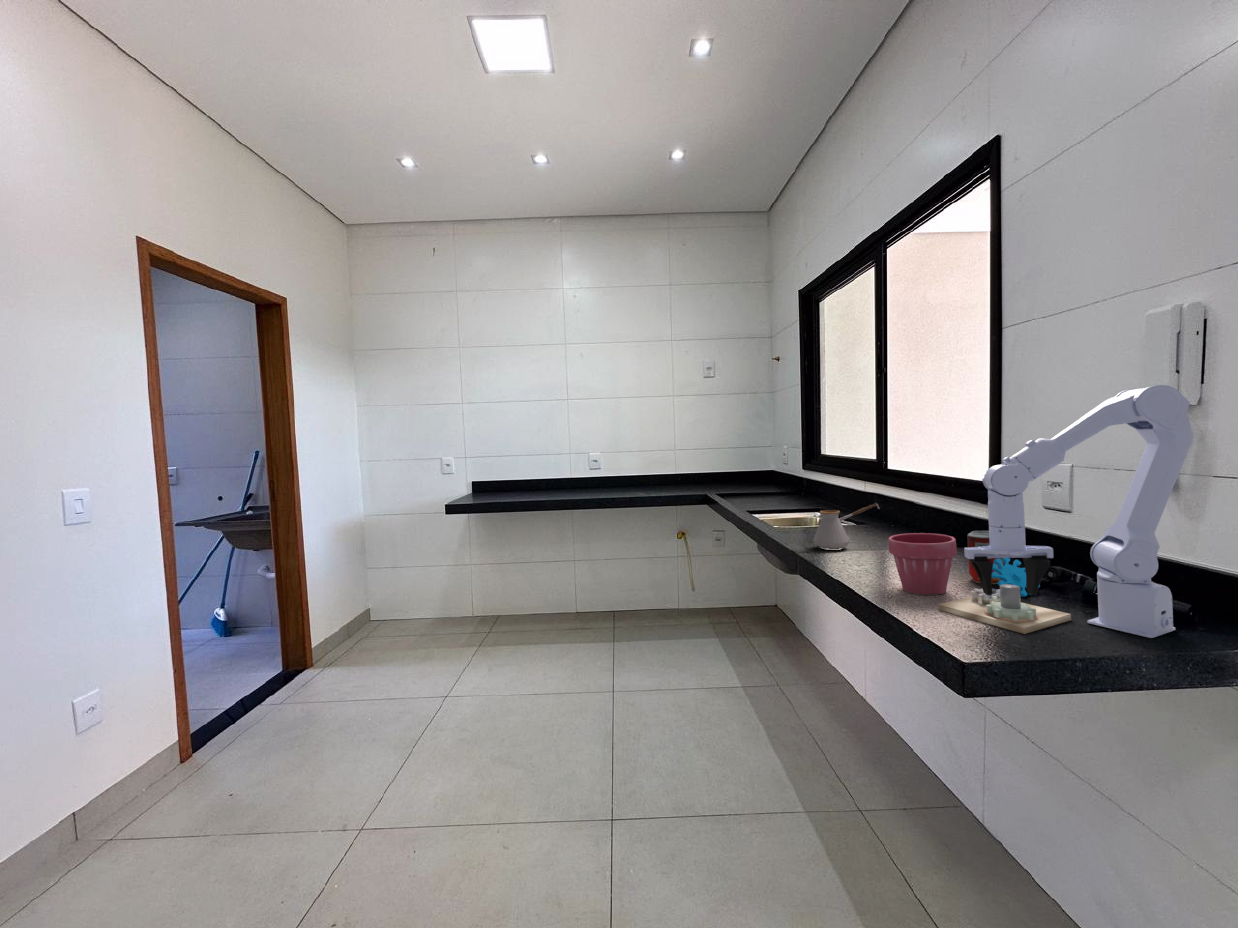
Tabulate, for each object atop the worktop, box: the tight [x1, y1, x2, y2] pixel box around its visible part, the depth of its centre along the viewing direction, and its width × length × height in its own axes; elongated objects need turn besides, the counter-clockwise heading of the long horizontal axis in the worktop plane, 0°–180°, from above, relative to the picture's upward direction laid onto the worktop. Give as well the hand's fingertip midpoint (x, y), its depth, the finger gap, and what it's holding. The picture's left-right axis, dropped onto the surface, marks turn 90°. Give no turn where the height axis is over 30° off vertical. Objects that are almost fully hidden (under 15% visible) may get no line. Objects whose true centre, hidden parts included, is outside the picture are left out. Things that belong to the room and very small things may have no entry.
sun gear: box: [970, 587, 1001, 605], centre depth 113 cm, size 7×7×3 cm
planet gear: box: [987, 584, 1036, 621], centre depth 104 cm, size 8×8×6 cm
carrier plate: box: [938, 595, 1072, 635], centre depth 108 cm, size 17×14×1 cm
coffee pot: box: [813, 502, 881, 549], centre depth 178 cm, size 21×12×15 cm, turn 78°
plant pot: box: [888, 532, 958, 596], centre depth 127 cm, size 14×14×13 cm
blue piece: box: [992, 558, 1041, 598], centre depth 122 cm, size 11×6×10 cm
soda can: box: [966, 530, 1004, 585], centre depth 131 cm, size 7×7×12 cm
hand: (1009, 594), depth 104 cm, fingers open, 7 cm apart
